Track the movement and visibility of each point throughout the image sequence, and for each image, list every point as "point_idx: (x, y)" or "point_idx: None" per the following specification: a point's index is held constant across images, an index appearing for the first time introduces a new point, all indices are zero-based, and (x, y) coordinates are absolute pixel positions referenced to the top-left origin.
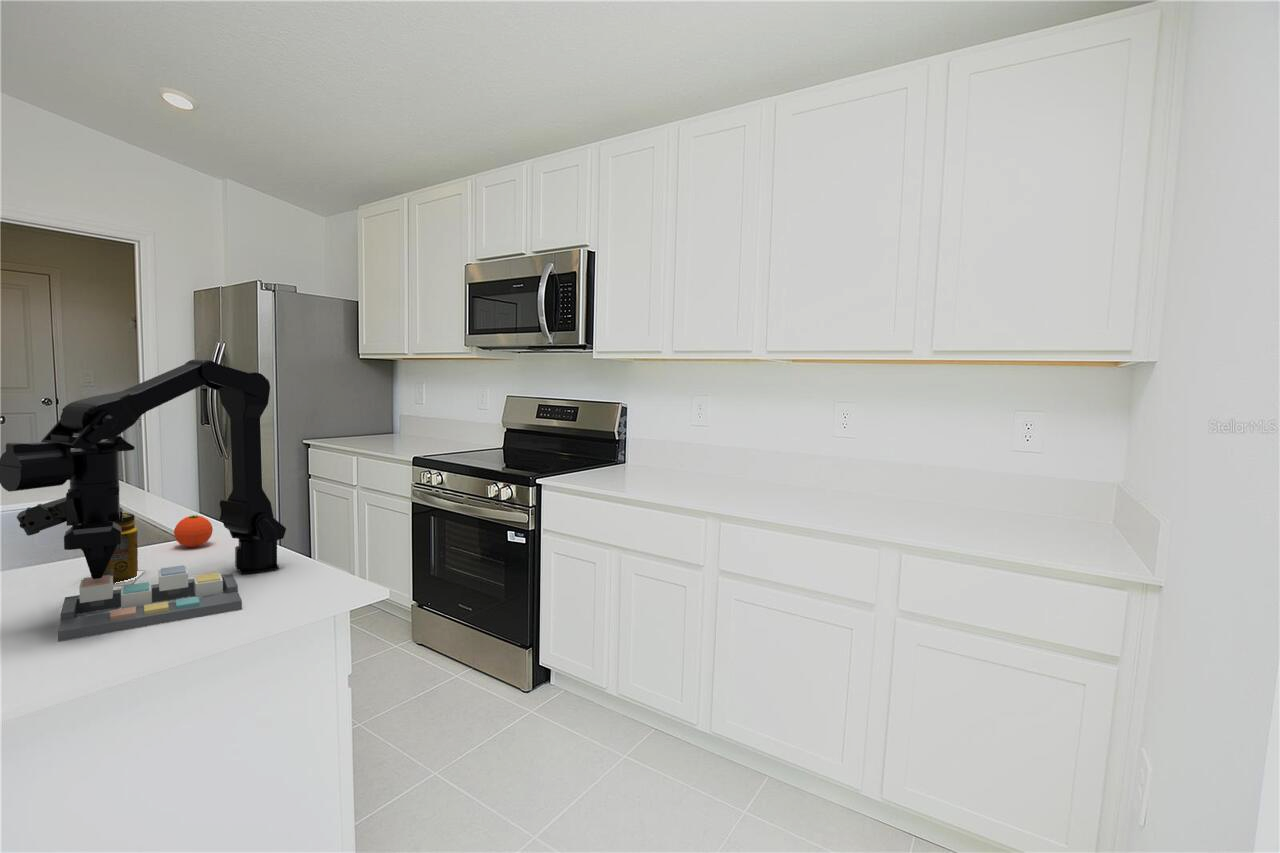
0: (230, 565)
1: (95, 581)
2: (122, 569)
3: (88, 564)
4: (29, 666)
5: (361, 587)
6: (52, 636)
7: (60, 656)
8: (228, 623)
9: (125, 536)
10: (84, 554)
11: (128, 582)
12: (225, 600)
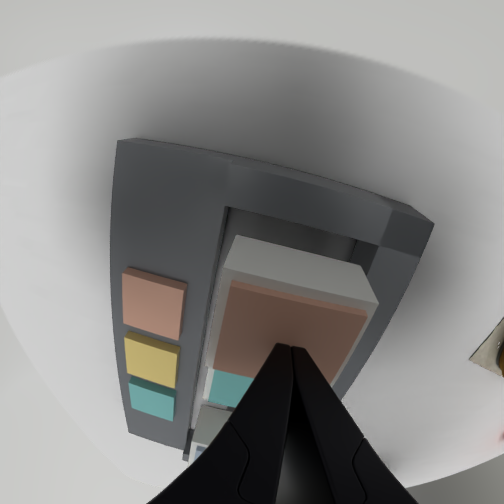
0: (401, 462)
1: (256, 338)
2: None
3: (241, 403)
4: (34, 92)
5: (149, 482)
6: (191, 129)
7: (45, 141)
8: (78, 382)
9: None
10: (186, 470)
11: (483, 355)
12: (142, 426)
